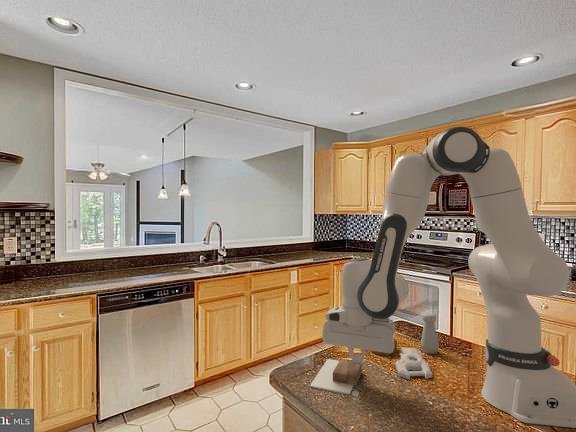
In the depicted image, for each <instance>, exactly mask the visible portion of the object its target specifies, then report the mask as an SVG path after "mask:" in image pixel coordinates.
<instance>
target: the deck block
mask: <svg viewBox="0 0 576 432" xmlns="http://www.w3.org/2000/svg"><path fill="white" fill-rule="evenodd" d="M338 361H339V363H338V364H337V366H336V368H335V370H334V371H333V381H334V382H339V383H345V384H350V385H353V386H357V384H358V381H359V379H360V377H361V373H362V369H363V367H362V365H363V364H357V363H352V360H345V359H339V360H338Z"/></svg>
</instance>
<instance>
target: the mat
mask: <svg viewBox="0 0 576 432" xmlns="http://www.w3.org/2000/svg"><path fill="white" fill-rule="evenodd" d="M339 361H340V360H337V359H330V358H327V359H326V361H325V362H324V364H323V365H322V367H321V368H320V370H319V371H318V373H317V375H316V376H315V377H314V379H313V380H312V381H311V383H310V385H309V388H313V389H320V390H323V391H329V392H334V393H338V394H343V395H348V396H349V395H351V393H352V390H353V388H354V385H350V384H345V383H339V382H334V381H333V371H334V370H335V368H336V366H337V364H338V363H339Z"/></svg>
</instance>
